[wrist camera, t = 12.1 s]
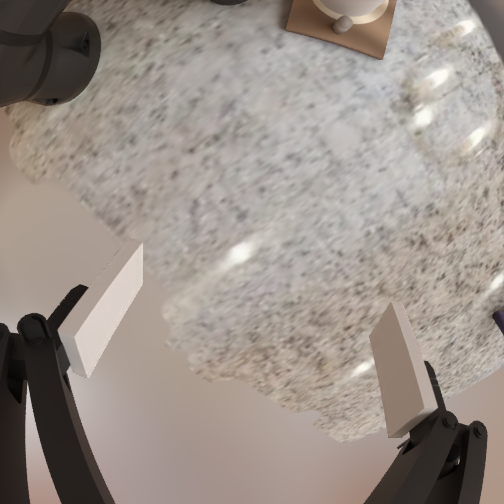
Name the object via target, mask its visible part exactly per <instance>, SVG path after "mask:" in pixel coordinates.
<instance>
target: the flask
mask: <svg viewBox="0 0 504 504" xmlns="http://www.w3.org/2000/svg"><path fill="white" fill-rule="evenodd" d="M493 319H494V320H495V322H496V324H497V325H498V327H499V328H500V330H501V332H502V333H503V335H504V309H503V310H502V309H501V310H497V311H496V312H495V313H494V314H493Z"/></svg>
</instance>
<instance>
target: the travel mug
mask: <svg viewBox="0 0 504 504" xmlns="http://www.w3.org/2000/svg"><path fill="white" fill-rule="evenodd" d="M211 1H213V2H215V3H217V4H221V5H236V4H240V3H243V2H245V1H247V0H211Z"/></svg>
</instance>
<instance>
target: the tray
mask: <svg viewBox="0 0 504 504" xmlns="http://www.w3.org/2000/svg"><path fill="white" fill-rule="evenodd" d="M396 1H397V0H386V1H384V2H383V3H382V4H381V5H379V6H378V7H377V8H376V9H375V10H373V11H372V12H371V13H369V14H367V15H364V16H359V17H349V16H344V15H340V14H338V13H335V12H333V11H331V10H330V9H328V8H327V7H326V6H324V5H323V4H322V3H321V2H320V0H293V3H292V7H291V10H290V14H289V18H288V22H287V26H286V31H289V32H293V33H297V34H301V35H305V36H309V37H313V38H316V39H320V40H323V41H327V42H330V43H333V44H337V45H340V46H343V47H346V48H349V49H352V50H355V51H358V52H360V53H363V54H366V55H368V56H371V57H374V58H376V59H379V60H382V59H383V57H384V53H385V49H386V45H387V41H388V37H389V33H390V28H391V24H392V19H393V15H394V10H395V6H396Z"/></svg>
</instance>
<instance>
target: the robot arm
mask: <svg viewBox="0 0 504 504" xmlns="http://www.w3.org/2000/svg"><path fill="white" fill-rule="evenodd" d="M70 2H71V0H0V107H3V106H7V105H10V104H13V103H17V102H21V101H28V102H32V103H36V104H41V105H45V106H52V105H58V104H62V103H66V102H68V101H70V100H72V99H74V98H75V97H77V96H78V95H79V94H80V93H81V92H82V91H83V90H84V89H85V88H86V86H87V85H88V84H89V82H90V81H91V79H92V77H93V75H94V73H95V71H96V68H97V65H98V62H99V58H100V51H101V40H100V34H99V31H98V28H97V26H96V24H95V23H94V21H93V20H92V19H91V18H89V17H88V16H86V15H84V14H81V13H75V12H62V11H63V10H64V9H65V8H66V6H67V5H68V4H69V3H70ZM142 285H143V242H142V241H138V240H134V239H130V238H129V240H128V241H127V242H126V243H125V244H124V245H123V247H122V248H121V249H120V250H119V251H118V252H117V254H116V255H115V256H114V257H113V258H112V260H111V261H110V262H109V263H108V265H107V266H106V267H105V268H104V269H103V271H102V272H101V273H100V274H99V276H98V277H97V278H96V279H95V281H94V282H93V283H92V284H91V286H90V287H87V286H84V285H81V284H80V285H78V286H77V287H75V288H73V289H71V290H70V292H69V293H68V294H67V295H66V297H65V299H63V300H62V302H61V303H60V305H58V307H57V308H56V309H55V310H54V312H53V313H52V314H51V316H50V317H49V318H48V320H47V321H46V318H45V317H44V316H43V315H41V314H38V313H31V314H28V315H25V316H24V317H22V318H21V320H20V321H19V322H18V325H17V330H18V333H19V334H18V333H11V332H10V331H9V329H8V327H7V326H6V325H5V324H3V323H0V504H30V499H29V491H28V482H27V470H26V451H25V415H26V395H27V383H28V386H29V392H30V398H31V403H32V408H33V413H34V417H35V422H36V426H37V430H38V434H39V438H40V442H41V445H42V449H43V452H44V456H45V459H46V462H47V465H48V468H49V472H50V474H51V477H52V480H53V483H54V485H55V488H56V491H57V494H58V496H59V498H60V501H61V503H62V504H115V502H114V500H113V498H112V496H111V494H110V492H109V490H108V488H107V485H106V483H105V481H104V479H103V477H102V475H101V472H100V470H99V468H98V465H97V463H96V461H95V458H94V455H93V453H92V450H91V448H90V445H89V443H88V440H87V437H86V435H85V432H84V429H83V426H82V423H81V420H80V417H79V414H78V410H77V407H76V404H75V401H74V397H73V393H72V390H71V386H70V382H69V378H68V375H67V372H66V371H67V370H68V368H69V366H71V368H72V371H73V373H75V374H77V375H80V376H82V377H84V378H87V379H89V377H90V375H91V373H92V371H93V369H94V368H95V366H96V364H97V362H98V360H99V358H100V356H101V354H102V353H103V351H104V349H105V347H106V346H107V344H108V342H109V340H110V338H111V337H112V335H113V333H114V331H115V330H116V328H117V326H118V324H119V323H120V321H121V319H122V318H123V316H124V314H125V313H126V311H127V309H128V307H129V306H130V304H131V303H132V301H133V299H134V298H135V296H136V294H137V292H138V291H139V289H140V288H141V286H142ZM369 338H370V342H371V347H372V351H373V356H374V360H375V365H376V370H377V375H378V380H379V385H380V390H381V396H382V401H383V407H384V413H385V419H386V425H387V432H388V438H401V437H403V436H404V435H406V434H407V433H408V432H409V433H410V438H409V439H408V440H406V441H405V442H403V443H402V444H401V445H399V446H398V447H397V448H398V449H399V448H401V447H402V446H403V447H402V449H401V450H400V452H399V454H398V455H397V457H396V458H395V460H394V462H393V463H392V465H391V466H390V468H389V469H388V471H387V472H386V474H385V475H384V477H383V478H382V479H381V481H380V482H379V484H378V485H377V486H376V488H375V489H374V490H373V492H372V493H371V495H370V496H369V497H368V498H367V500H366V501H365V503H364V504H479V501H480V496H481V490H482V484H483V477H484V469H485V461H486V449H487V430H486V427H485V426H484V424H483V423H481V422H480V421H473V422H472V423H471V424H470V425H468V426H467V425H464V424H461V423H458V420H457V418H456V416H455V415H454V414H453V413H451V412H449V411H447V410H446V408H445V404H444V400H443V397H442V394H441V391H440V387H439V386H438V385H439V384H438V381H437V380H436V375H435V372H434V369H433V368H432V366H431V365H430V363H429V362H428V361H424V360H423V357H422V354H421V351H420V349H419V346H418V343H417V340H416V337H415V335H414V332H413V329H412V327H411V324H410V321H409V319H408V316H407V314H406V311H405V309H404V306H403V304H402V303H398V302H393V301H391V302H390V304H389V305H388V307H387V309H386V310H385V312H384V314H383V315H382V317H381V318H380V320H379V322H378V323H377V325H376V326H375V328H374V329H373V331H372V332H371V334H370V335H369ZM459 459H460V462H459V464H458V460H459Z"/></svg>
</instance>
